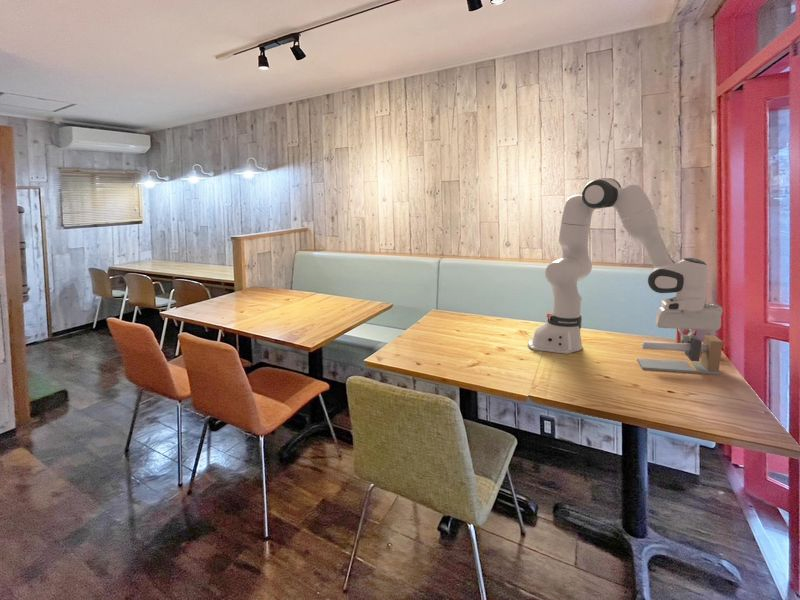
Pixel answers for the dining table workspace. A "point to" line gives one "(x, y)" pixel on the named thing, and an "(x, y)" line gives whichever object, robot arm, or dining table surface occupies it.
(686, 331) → the soda can
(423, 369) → the dining table surface
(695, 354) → the grey rectangular frame
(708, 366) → the pipe stand
